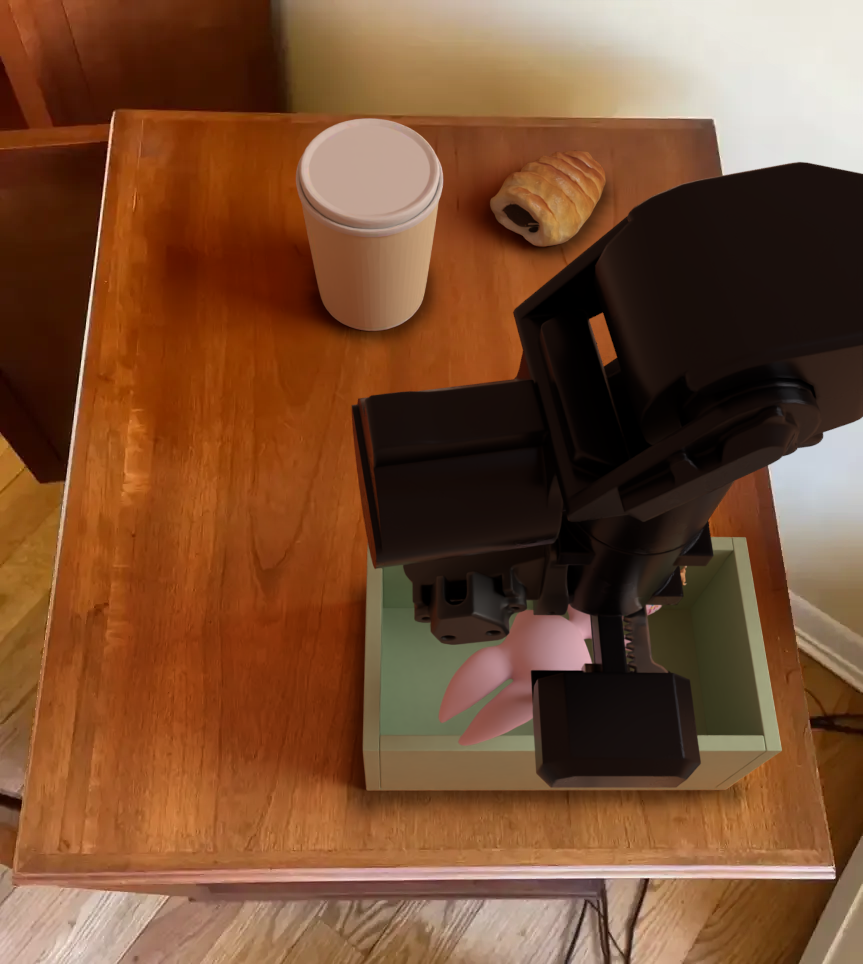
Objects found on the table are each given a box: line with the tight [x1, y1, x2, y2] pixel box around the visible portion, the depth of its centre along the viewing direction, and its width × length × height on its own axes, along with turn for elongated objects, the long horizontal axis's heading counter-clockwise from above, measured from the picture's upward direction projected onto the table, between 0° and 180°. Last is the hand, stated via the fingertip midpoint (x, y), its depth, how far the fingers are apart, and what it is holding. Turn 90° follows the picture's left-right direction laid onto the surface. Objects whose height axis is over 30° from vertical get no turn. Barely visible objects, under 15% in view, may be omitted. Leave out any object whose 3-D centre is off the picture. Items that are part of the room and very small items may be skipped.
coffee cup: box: [295, 118, 444, 332], centre depth 69 cm, size 9×9×12 cm
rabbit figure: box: [439, 566, 687, 746], centre depth 50 cm, size 6×6×15 cm
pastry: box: [489, 150, 607, 247], centre depth 77 cm, size 9×7×4 cm
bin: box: [362, 536, 783, 791], centre depth 56 cm, size 21×12×10 cm, turn 90°
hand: (565, 627), depth 51 cm, fingers closed on rabbit figure, 7 cm apart
